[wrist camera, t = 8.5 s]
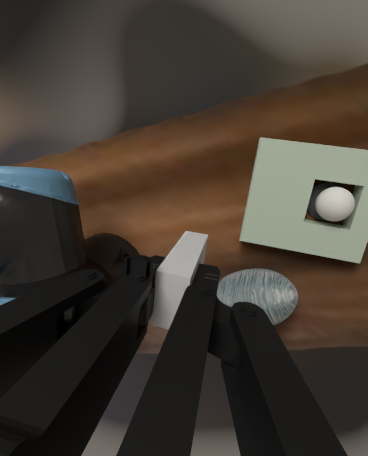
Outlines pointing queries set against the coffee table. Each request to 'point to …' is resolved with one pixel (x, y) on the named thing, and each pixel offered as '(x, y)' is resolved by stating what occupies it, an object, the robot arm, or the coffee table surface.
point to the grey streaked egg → (260, 292)
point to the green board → (305, 199)
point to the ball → (335, 204)
